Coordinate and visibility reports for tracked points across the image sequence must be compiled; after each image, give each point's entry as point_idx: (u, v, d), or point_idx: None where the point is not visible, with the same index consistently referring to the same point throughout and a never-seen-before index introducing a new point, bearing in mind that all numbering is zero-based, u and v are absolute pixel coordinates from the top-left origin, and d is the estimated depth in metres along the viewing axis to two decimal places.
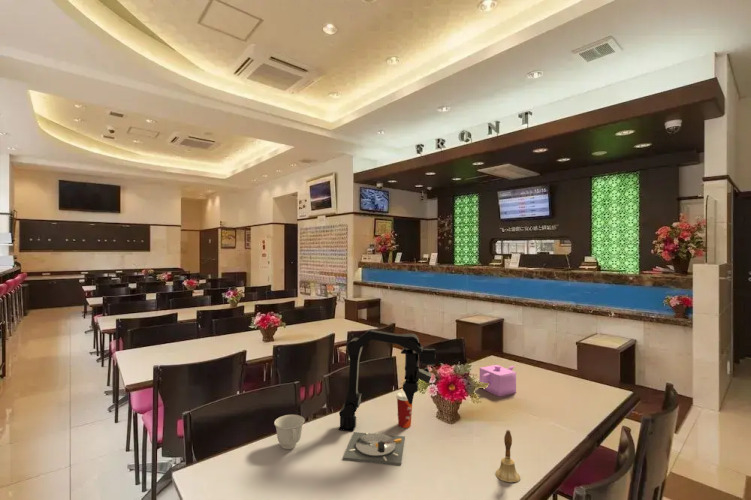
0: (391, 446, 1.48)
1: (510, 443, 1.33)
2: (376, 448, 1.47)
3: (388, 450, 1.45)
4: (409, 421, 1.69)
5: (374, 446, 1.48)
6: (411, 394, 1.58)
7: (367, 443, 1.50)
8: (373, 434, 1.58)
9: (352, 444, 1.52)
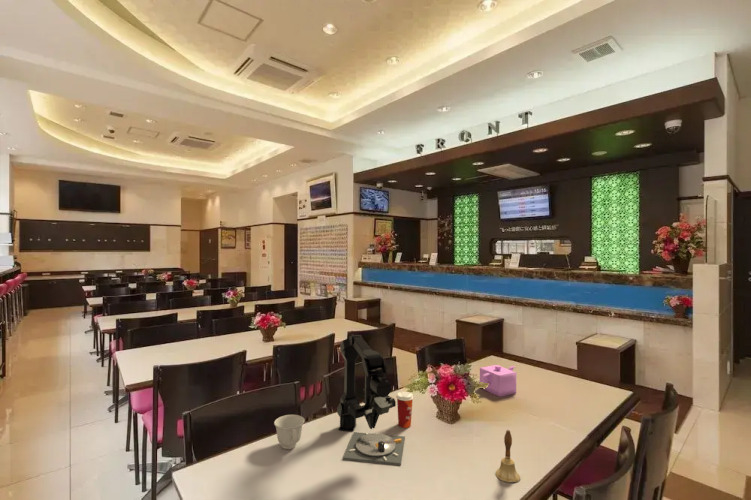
0: (391, 446, 1.48)
1: (510, 443, 1.33)
2: (376, 448, 1.47)
3: (388, 450, 1.45)
4: (409, 421, 1.69)
5: (374, 446, 1.48)
6: (368, 418, 1.41)
7: (367, 443, 1.50)
8: (373, 434, 1.58)
9: (352, 444, 1.52)
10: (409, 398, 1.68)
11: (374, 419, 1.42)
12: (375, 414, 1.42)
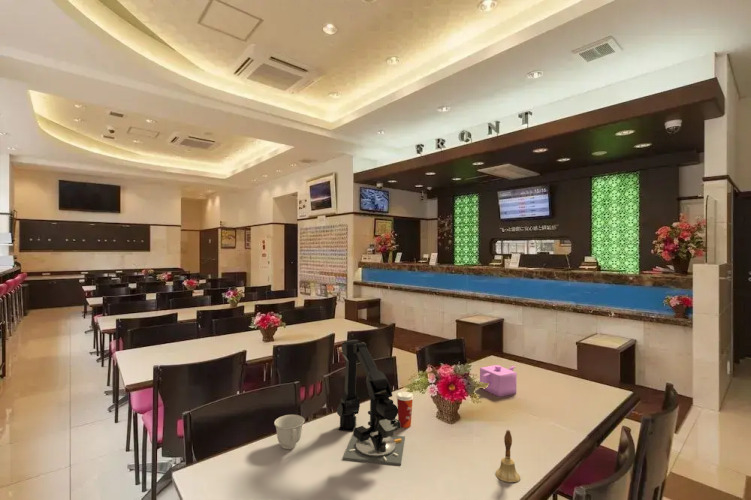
0: (391, 446, 1.49)
1: (510, 443, 1.33)
2: None
3: (389, 449, 1.46)
4: (409, 421, 1.69)
5: None
6: (374, 440, 1.43)
7: (367, 443, 1.50)
8: None
9: (352, 444, 1.52)
10: (409, 398, 1.68)
11: (378, 441, 1.43)
12: (379, 436, 1.43)
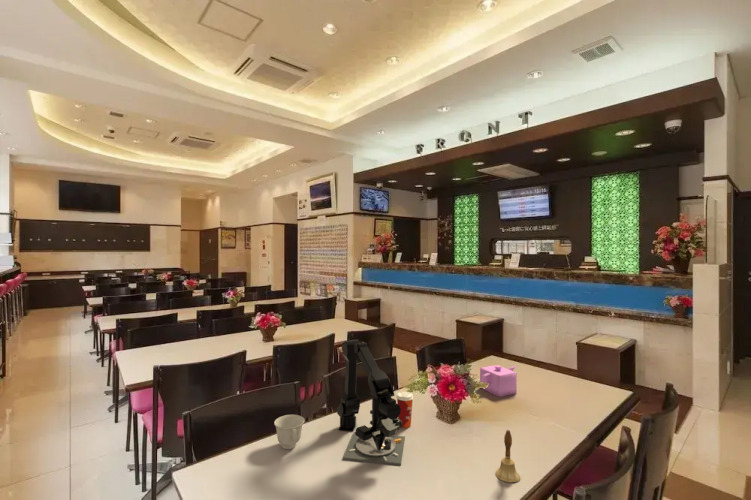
0: (392, 442, 1.51)
1: (510, 443, 1.33)
2: None
3: (393, 446, 1.49)
4: (409, 421, 1.69)
5: None
6: (376, 439, 1.43)
7: (368, 445, 1.49)
8: None
9: (352, 444, 1.52)
10: (409, 398, 1.68)
11: (380, 441, 1.44)
12: (381, 436, 1.44)
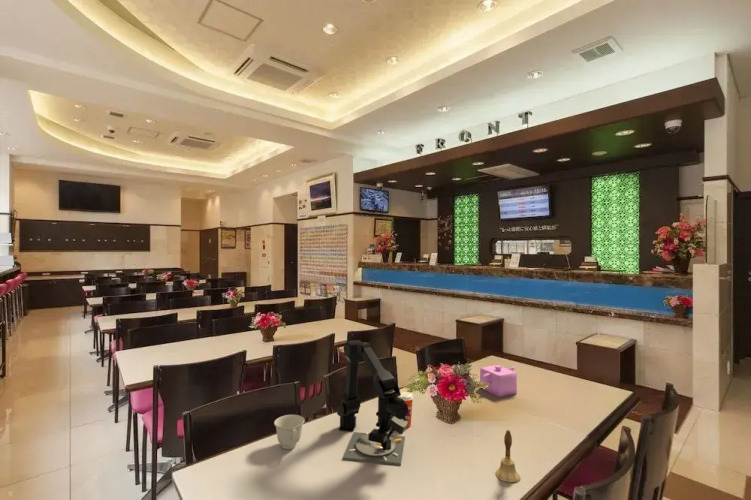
0: (392, 442, 1.52)
1: (510, 443, 1.33)
2: (381, 447, 1.48)
3: (393, 446, 1.49)
4: (409, 421, 1.69)
5: (377, 446, 1.48)
6: None
7: (368, 445, 1.49)
8: (365, 436, 1.56)
9: (352, 444, 1.52)
10: (409, 398, 1.68)
11: None
12: None
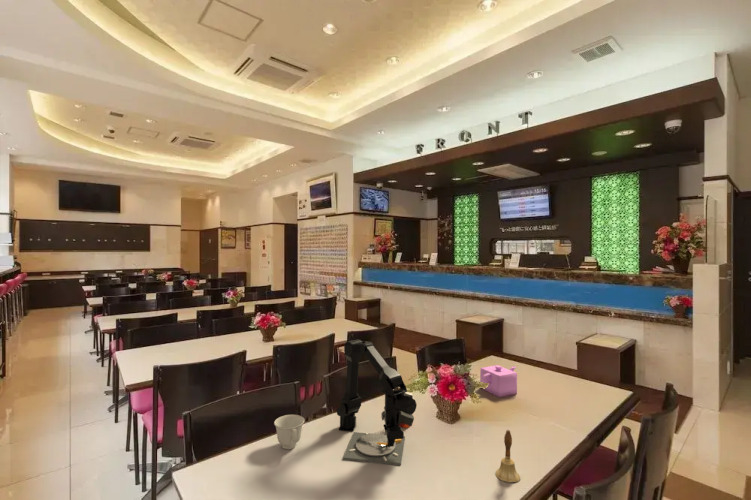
0: None
1: (510, 443, 1.33)
2: (384, 445, 1.49)
3: None
4: None
5: (380, 445, 1.49)
6: None
7: (372, 447, 1.48)
8: (359, 439, 1.53)
9: (352, 444, 1.52)
10: None
11: None
12: None
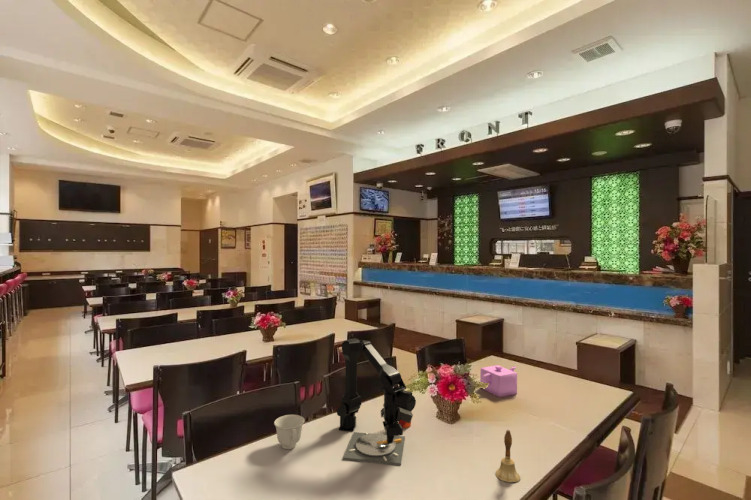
0: (383, 435, 1.57)
1: (510, 443, 1.33)
2: (385, 443, 1.51)
3: None
4: None
5: (381, 444, 1.50)
6: None
7: (375, 447, 1.47)
8: (358, 443, 1.50)
9: (352, 444, 1.52)
10: None
11: None
12: None
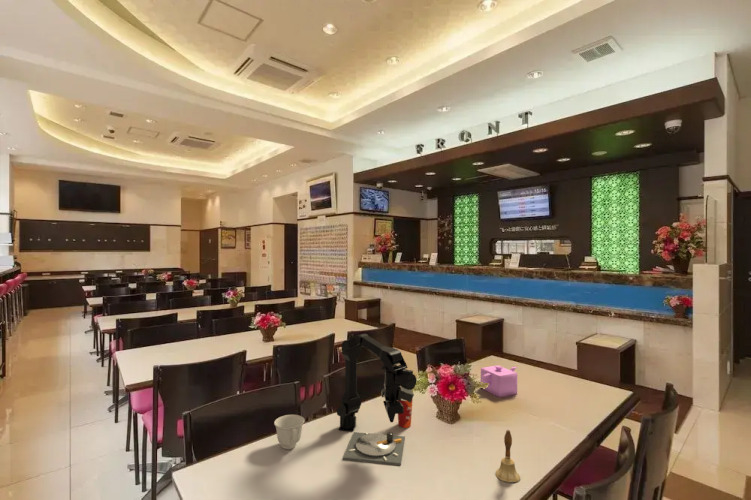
0: (383, 435, 1.57)
1: (510, 443, 1.33)
2: (385, 443, 1.51)
3: None
4: (409, 421, 1.69)
5: (381, 444, 1.50)
6: None
7: (375, 447, 1.47)
8: (358, 443, 1.50)
9: (352, 444, 1.52)
10: None
11: None
12: None
